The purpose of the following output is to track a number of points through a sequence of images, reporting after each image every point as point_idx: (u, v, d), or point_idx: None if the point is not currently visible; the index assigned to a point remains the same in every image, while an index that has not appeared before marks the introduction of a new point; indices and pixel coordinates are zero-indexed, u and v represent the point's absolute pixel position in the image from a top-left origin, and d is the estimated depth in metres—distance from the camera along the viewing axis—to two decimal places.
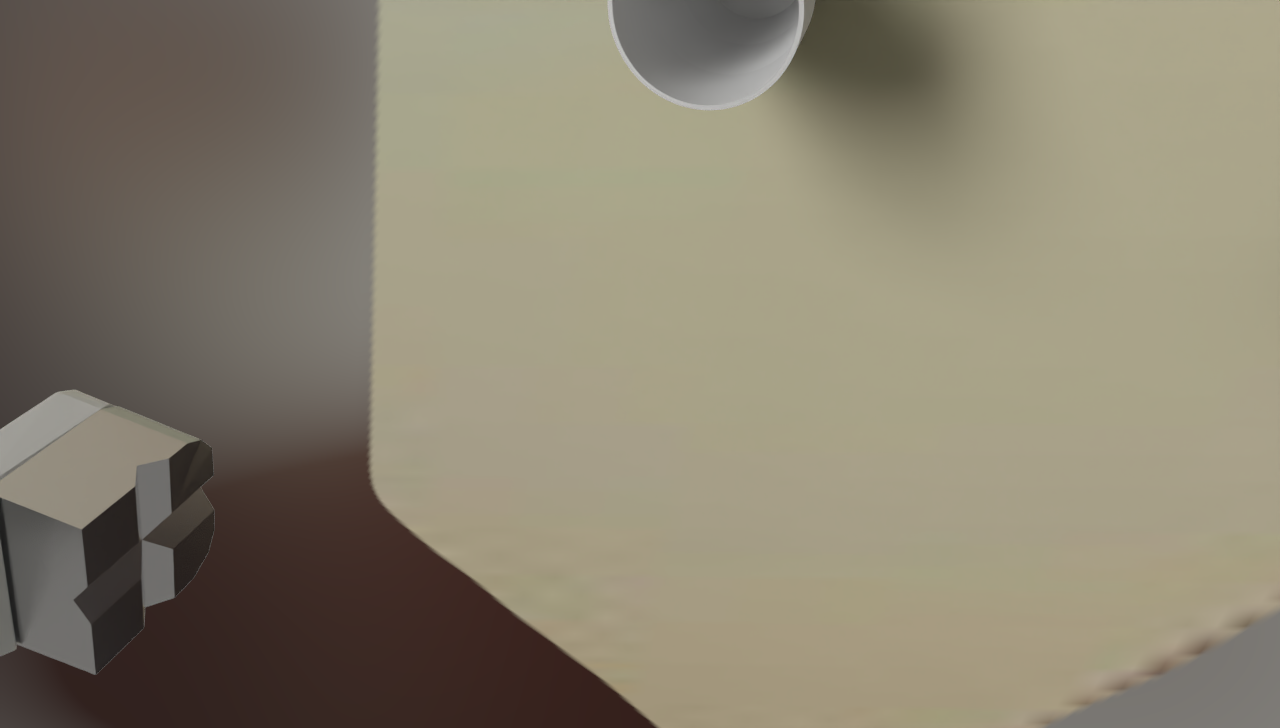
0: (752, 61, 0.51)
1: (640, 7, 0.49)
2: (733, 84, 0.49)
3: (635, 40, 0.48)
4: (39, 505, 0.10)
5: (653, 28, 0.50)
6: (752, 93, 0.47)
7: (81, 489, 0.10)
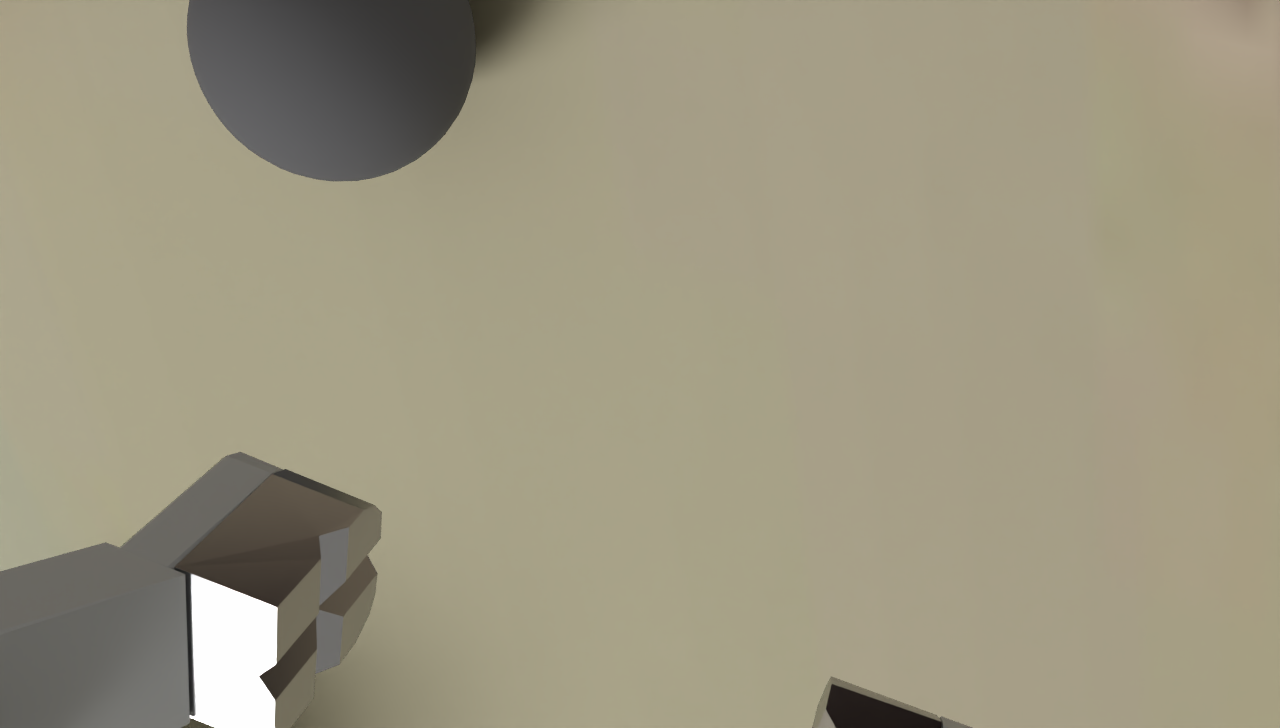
0: None
1: None
2: None
3: None
4: (230, 581, 0.09)
5: None
6: None
7: (269, 563, 0.09)
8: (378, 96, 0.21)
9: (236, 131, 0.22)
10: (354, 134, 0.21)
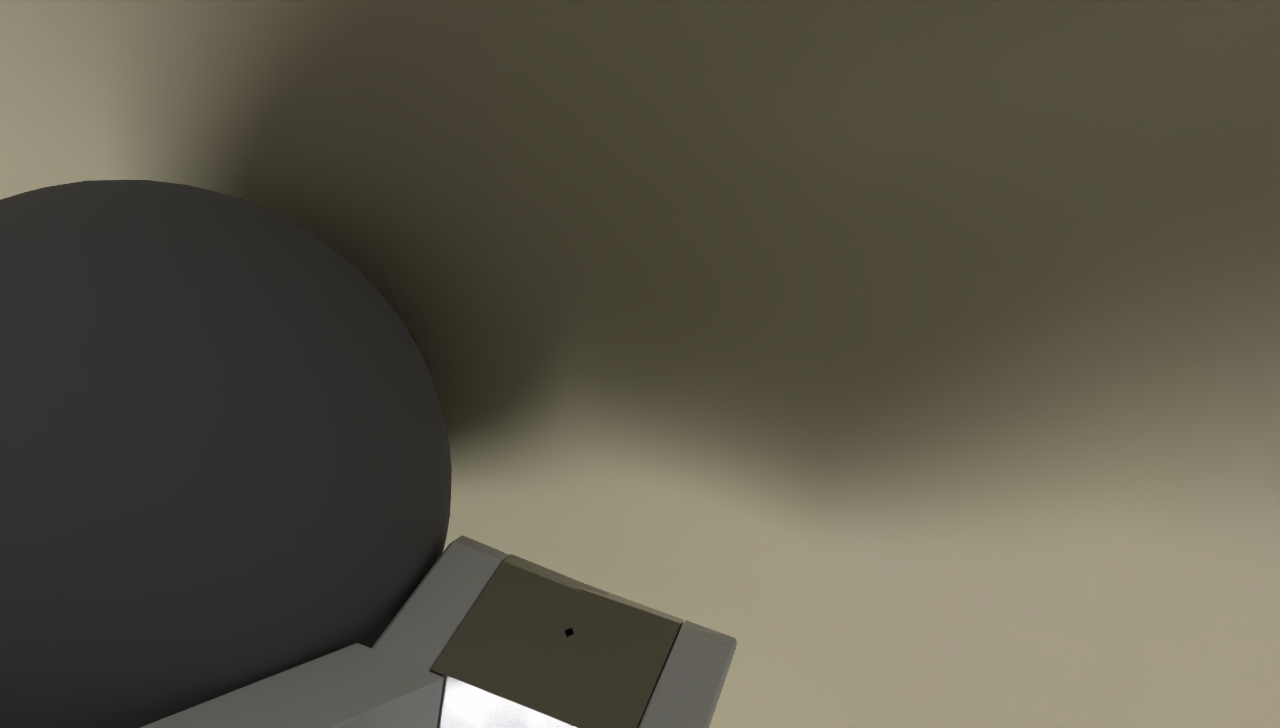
0: None
1: None
2: None
3: None
4: (488, 684, 0.09)
5: None
6: None
7: (522, 663, 0.09)
8: None
9: None
10: None
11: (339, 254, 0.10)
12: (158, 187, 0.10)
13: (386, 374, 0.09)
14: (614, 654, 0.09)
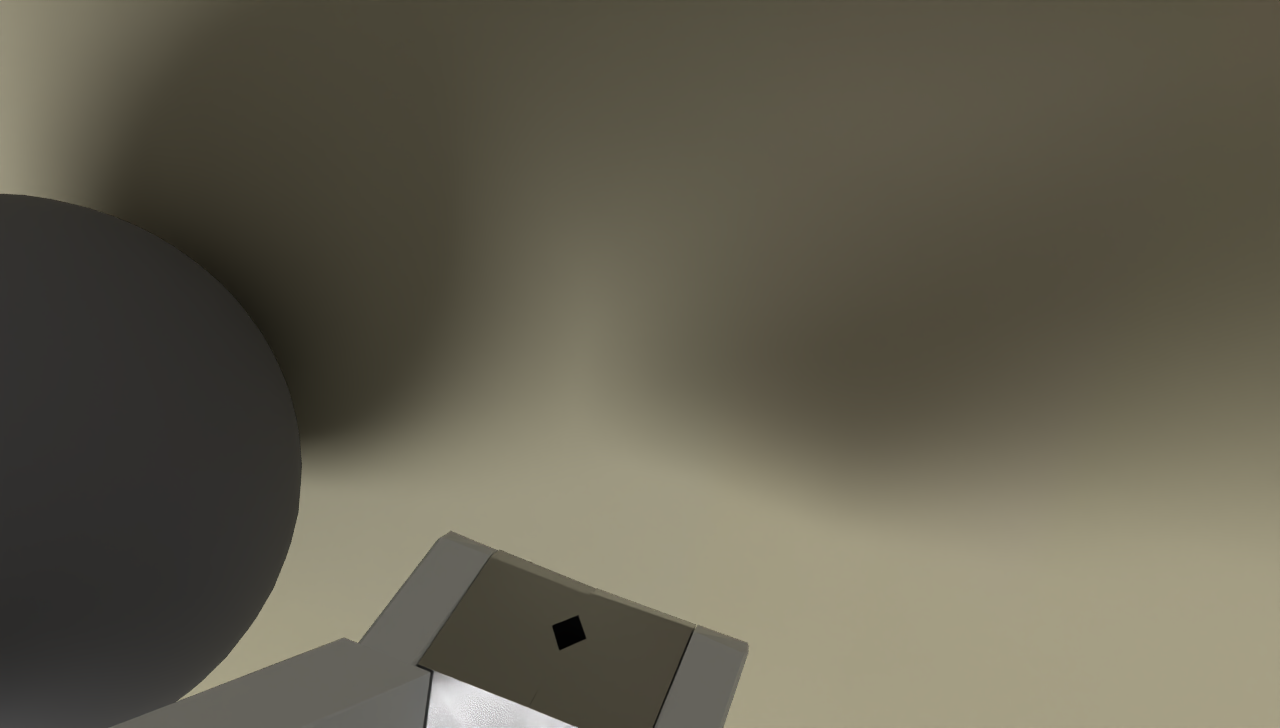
0: None
1: None
2: None
3: None
4: (474, 679, 0.09)
5: None
6: None
7: (509, 658, 0.09)
8: None
9: None
10: None
11: None
12: None
13: None
14: (627, 659, 0.09)
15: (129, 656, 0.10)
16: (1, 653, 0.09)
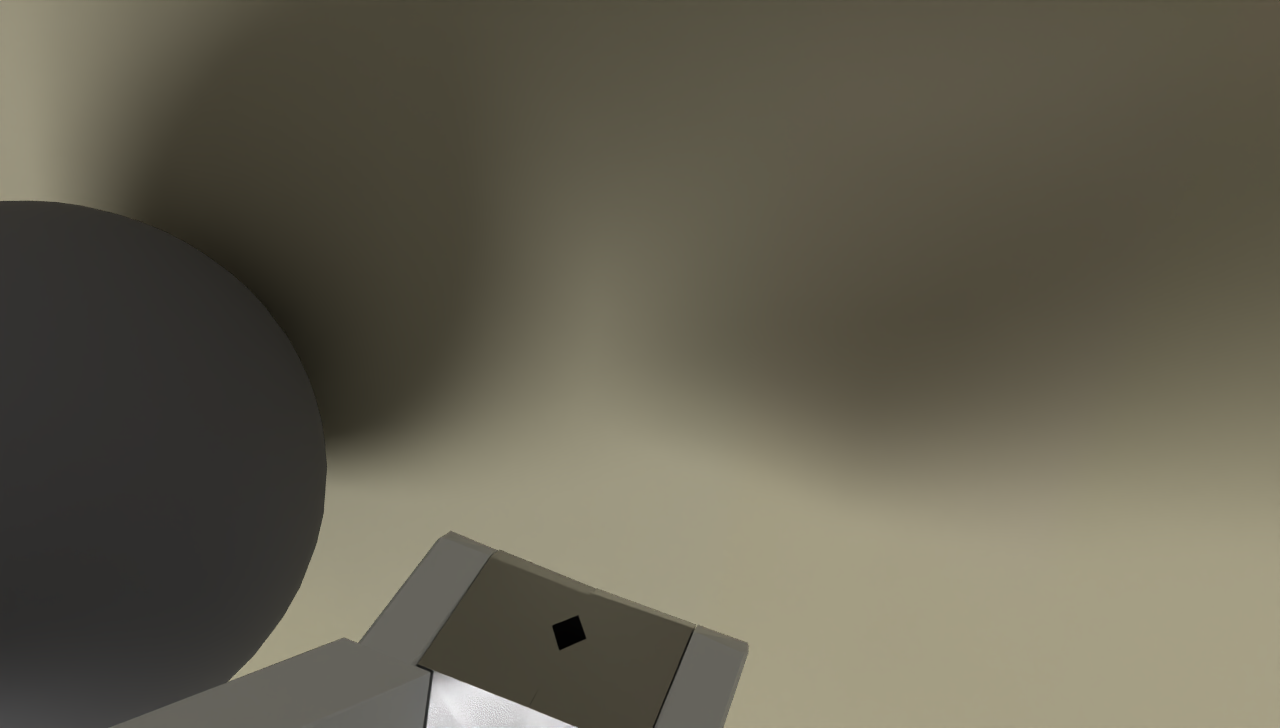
0: None
1: None
2: None
3: None
4: (474, 679, 0.09)
5: None
6: None
7: (509, 658, 0.09)
8: None
9: None
10: None
11: None
12: (26, 371, 0.09)
13: None
14: (627, 659, 0.09)
15: (163, 653, 0.10)
16: (40, 650, 0.09)
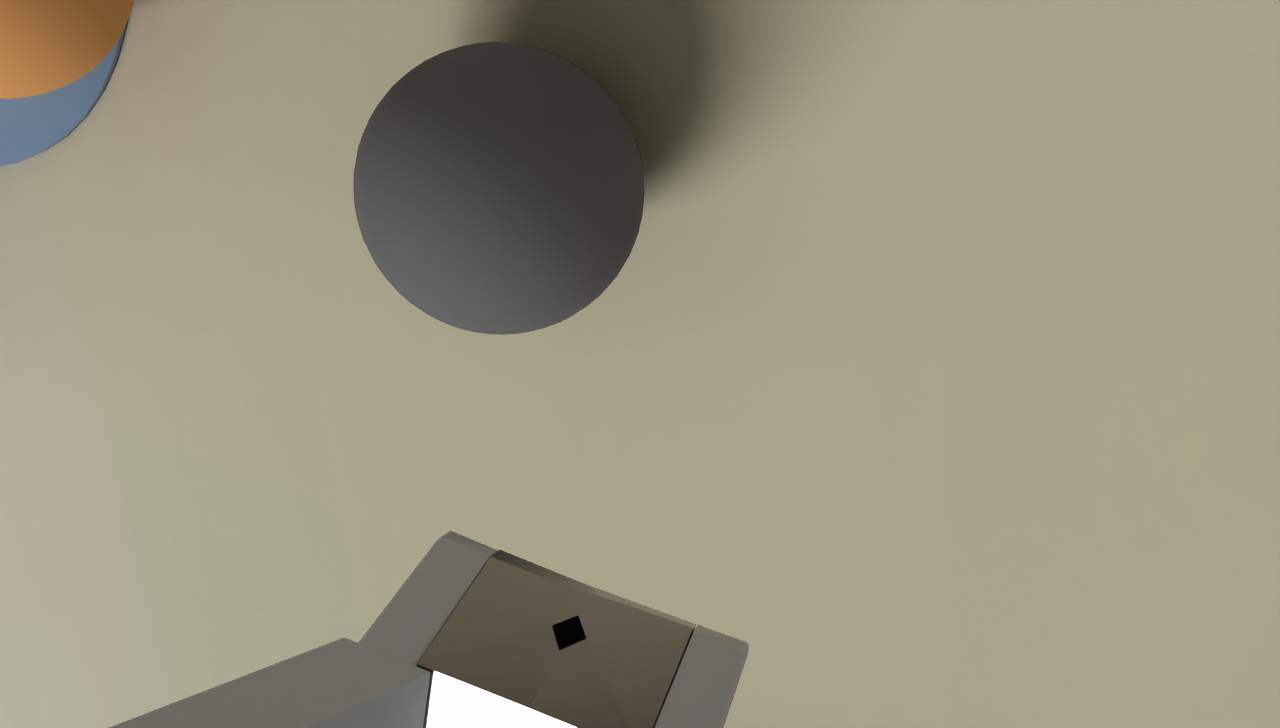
0: None
1: None
2: None
3: None
4: (474, 679, 0.09)
5: None
6: None
7: (509, 658, 0.09)
8: None
9: None
10: None
11: (463, 158, 0.19)
12: (521, 89, 0.20)
13: (387, 140, 0.20)
14: (627, 659, 0.09)
15: (596, 227, 0.20)
16: (549, 215, 0.19)
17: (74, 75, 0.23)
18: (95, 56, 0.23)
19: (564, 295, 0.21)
